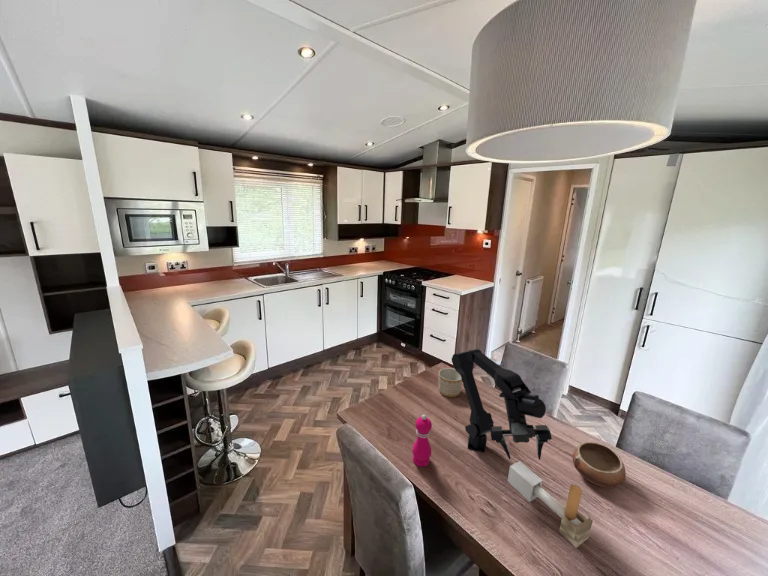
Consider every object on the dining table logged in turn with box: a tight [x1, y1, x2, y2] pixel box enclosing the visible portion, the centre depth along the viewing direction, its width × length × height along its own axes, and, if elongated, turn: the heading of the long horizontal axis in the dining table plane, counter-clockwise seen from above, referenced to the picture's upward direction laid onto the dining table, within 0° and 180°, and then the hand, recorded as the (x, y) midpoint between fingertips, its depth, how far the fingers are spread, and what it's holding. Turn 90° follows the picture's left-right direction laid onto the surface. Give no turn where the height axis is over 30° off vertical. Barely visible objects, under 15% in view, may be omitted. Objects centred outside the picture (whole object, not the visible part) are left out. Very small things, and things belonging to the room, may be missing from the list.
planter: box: [438, 367, 463, 398], centre depth 160 cm, size 13×13×10 cm
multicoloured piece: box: [533, 484, 583, 527], centre depth 95 cm, size 16×3×12 cm, turn 28°
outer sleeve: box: [507, 461, 543, 503], centre depth 105 cm, size 9×5×6 cm, turn 28°
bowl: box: [572, 441, 627, 488], centre depth 111 cm, size 16×16×10 cm
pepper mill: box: [411, 414, 432, 468], centre depth 114 cm, size 7×7×20 cm
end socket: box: [559, 511, 594, 549], centre depth 90 cm, size 5×6×6 cm
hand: (524, 459), depth 103 cm, fingers open, 9 cm apart
